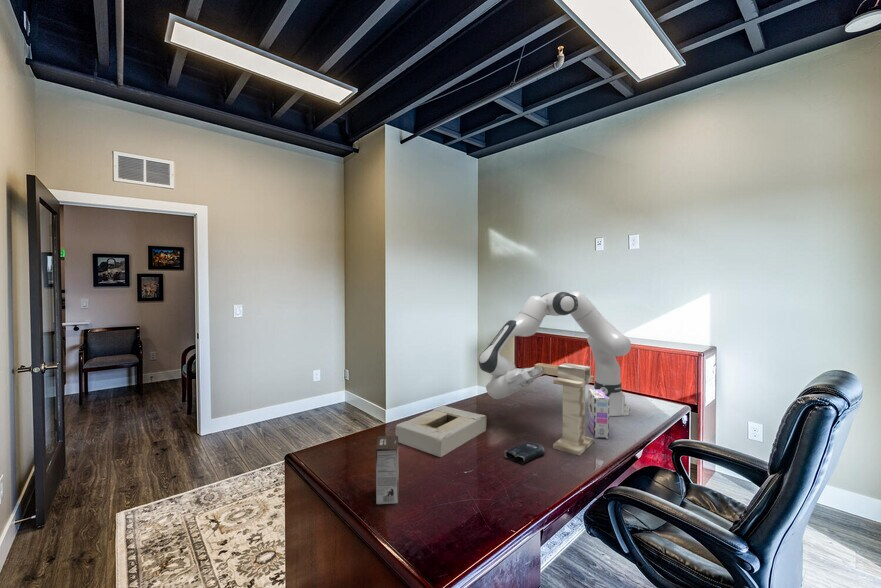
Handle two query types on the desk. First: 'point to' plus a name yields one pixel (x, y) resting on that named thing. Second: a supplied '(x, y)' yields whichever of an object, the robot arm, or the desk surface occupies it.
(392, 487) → the coffee box
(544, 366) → the tray
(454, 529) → the desk surface
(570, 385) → the stand
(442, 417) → the box
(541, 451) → the electronic device
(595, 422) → the candy box
